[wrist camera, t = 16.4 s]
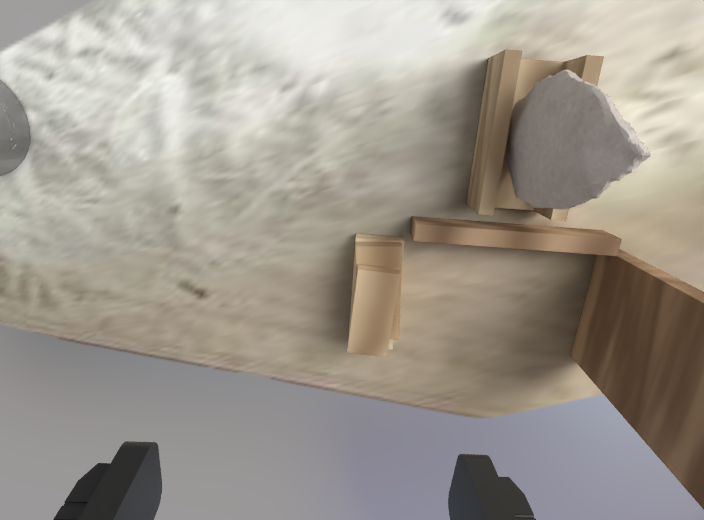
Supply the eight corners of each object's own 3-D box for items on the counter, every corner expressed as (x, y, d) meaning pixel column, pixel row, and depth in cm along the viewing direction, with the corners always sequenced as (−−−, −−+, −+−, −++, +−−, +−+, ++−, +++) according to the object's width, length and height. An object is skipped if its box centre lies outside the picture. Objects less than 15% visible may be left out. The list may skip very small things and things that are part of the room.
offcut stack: (348, 338, 43) (346, 362, 39) (355, 233, 40) (354, 247, 35) (394, 342, 43) (397, 366, 39) (406, 237, 40) (411, 251, 35)
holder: (466, 204, 38) (478, 214, 34) (488, 58, 35) (505, 49, 30) (543, 209, 38) (565, 220, 34) (574, 64, 35) (603, 56, 30)
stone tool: (500, 82, 34) (596, 55, 20) (540, 77, 34) (666, 48, 20) (498, 195, 37) (581, 241, 23) (536, 192, 37) (643, 236, 23)
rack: (397, 342, 43) (422, 518, 24) (412, 216, 39) (456, 308, 20) (586, 356, 43) (761, 545, 24) (620, 231, 39) (864, 338, 20)
